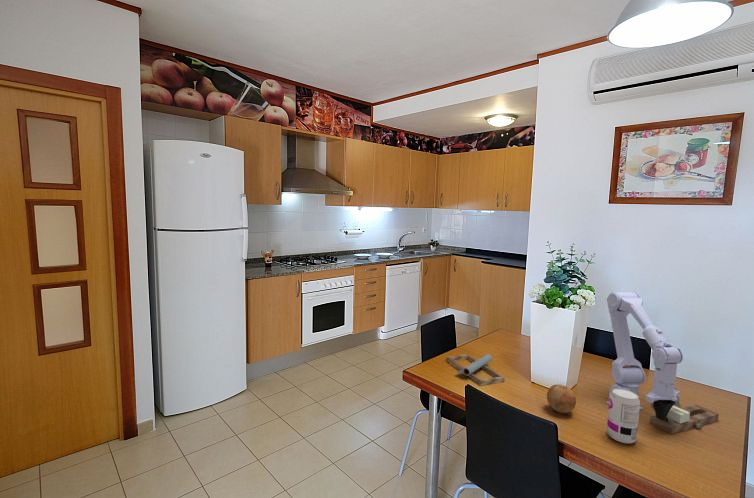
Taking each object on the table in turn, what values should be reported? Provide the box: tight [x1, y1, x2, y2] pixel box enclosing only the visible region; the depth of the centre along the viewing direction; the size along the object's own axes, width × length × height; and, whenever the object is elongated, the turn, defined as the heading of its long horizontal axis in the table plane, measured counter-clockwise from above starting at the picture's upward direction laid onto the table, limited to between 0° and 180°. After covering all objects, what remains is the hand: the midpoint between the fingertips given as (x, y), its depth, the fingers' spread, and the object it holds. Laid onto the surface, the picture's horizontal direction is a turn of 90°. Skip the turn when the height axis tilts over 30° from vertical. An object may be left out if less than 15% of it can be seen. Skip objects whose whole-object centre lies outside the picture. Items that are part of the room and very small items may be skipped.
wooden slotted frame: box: [649, 404, 720, 435], centre depth 131 cm, size 26×10×2 cm, turn 111°
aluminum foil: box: [456, 353, 493, 377], centre depth 170 cm, size 23×7×3 cm, turn 139°
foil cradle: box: [445, 354, 506, 387], centre depth 170 cm, size 12×28×2 cm, turn 21°
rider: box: [667, 405, 690, 423], centre depth 129 cm, size 5×6×6 cm
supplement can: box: [606, 389, 641, 445], centre depth 120 cm, size 8×8×15 cm
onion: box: [546, 383, 577, 414], centre depth 136 cm, size 10×10×10 cm
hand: (660, 418), depth 126 cm, fingers closed
